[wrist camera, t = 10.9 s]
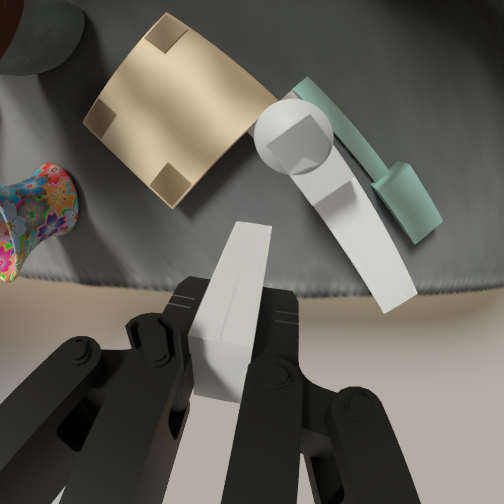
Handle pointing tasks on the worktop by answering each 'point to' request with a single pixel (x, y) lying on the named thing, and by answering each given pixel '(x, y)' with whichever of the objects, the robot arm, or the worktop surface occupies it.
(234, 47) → the worktop surface
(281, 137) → the hinged leg
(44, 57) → the bottle
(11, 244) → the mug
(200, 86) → the stool seat
